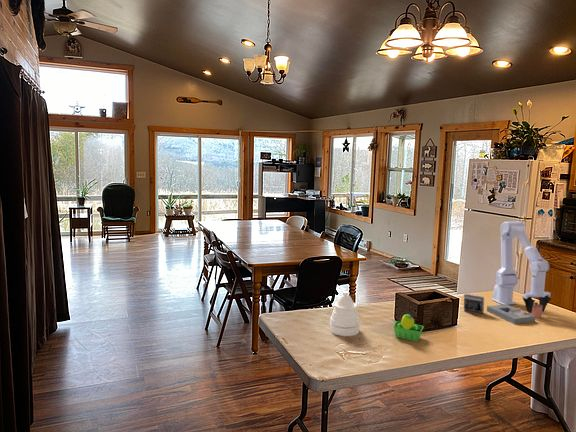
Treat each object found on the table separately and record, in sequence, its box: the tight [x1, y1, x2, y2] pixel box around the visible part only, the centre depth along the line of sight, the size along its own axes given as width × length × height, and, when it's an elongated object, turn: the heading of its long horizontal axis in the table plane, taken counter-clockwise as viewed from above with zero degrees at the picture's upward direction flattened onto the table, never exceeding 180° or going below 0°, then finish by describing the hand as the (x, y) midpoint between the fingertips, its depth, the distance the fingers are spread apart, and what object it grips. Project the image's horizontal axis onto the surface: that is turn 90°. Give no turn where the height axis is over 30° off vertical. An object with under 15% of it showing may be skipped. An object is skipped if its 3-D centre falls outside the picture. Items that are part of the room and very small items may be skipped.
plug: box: [527, 301, 543, 319], centre depth 214 cm, size 4×4×7 cm
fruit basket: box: [392, 313, 424, 342], centre depth 185 cm, size 11×9×11 cm
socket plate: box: [486, 304, 536, 325], centre depth 213 cm, size 18×12×2 cm, turn 16°
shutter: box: [509, 307, 530, 318], centre depth 208 cm, size 6×6×2 cm
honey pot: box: [329, 290, 360, 337], centre depth 192 cm, size 13×13×18 cm
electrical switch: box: [463, 292, 485, 315], centre depth 218 cm, size 9×5×9 cm, turn 57°
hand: (535, 311), depth 214 cm, fingers open, 7 cm apart
